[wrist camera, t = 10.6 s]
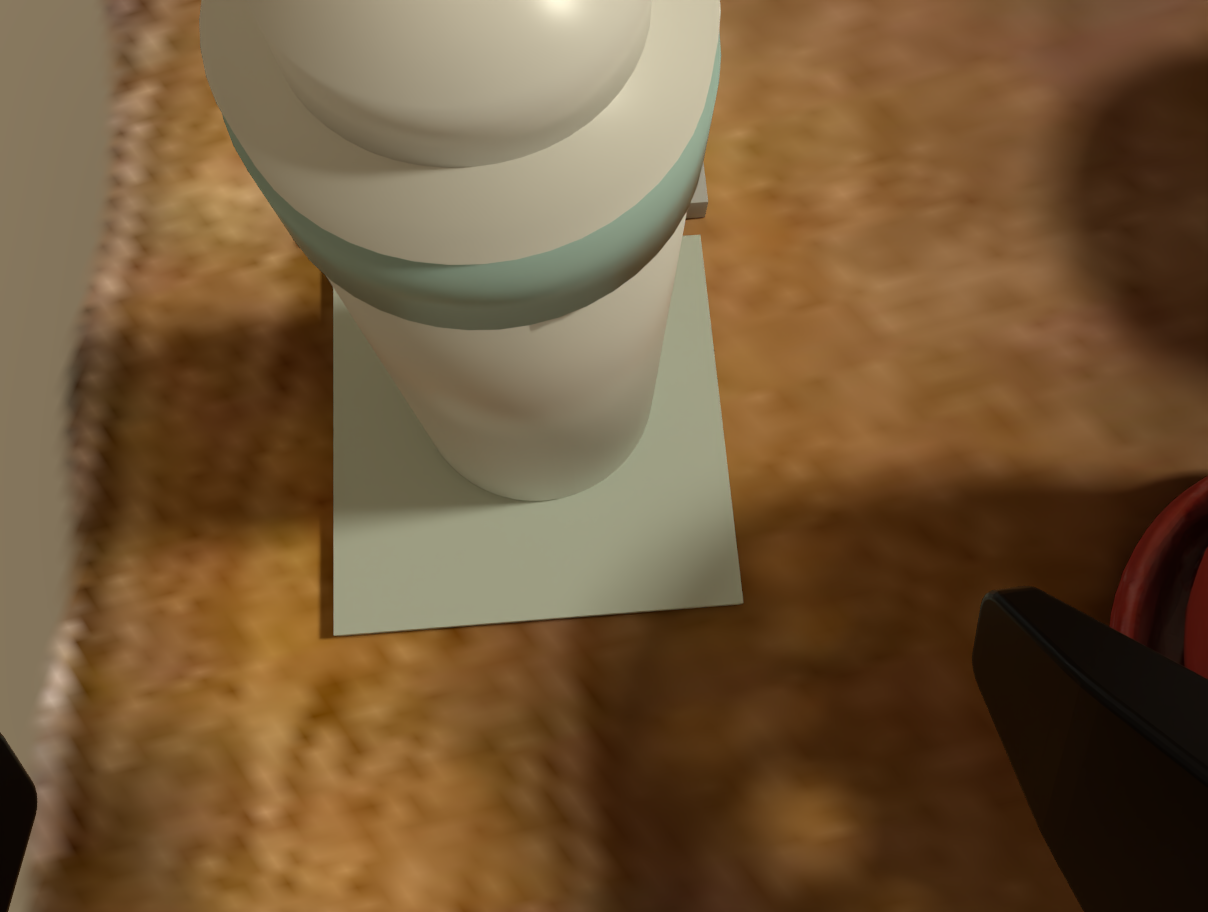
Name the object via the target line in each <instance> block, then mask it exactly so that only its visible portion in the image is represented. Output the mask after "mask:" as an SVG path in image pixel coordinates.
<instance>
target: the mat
mask: <svg viewBox="0 0 1208 912" xmlns="http://www.w3.org/2000/svg"><path fill="white" fill-rule="evenodd" d="M333 546H334V636H349V635H362V634H374V633H387V632H399V631H412V630H425V629H437V628H450V627H462V626H475V625H488V624H500V623H513V622H526V621H538V620H551V619H563V618H576V617H589V616H601V615H614V614H626V613H639V612H652V611H664V610H677V609H689V608H702V607H715V606H727V605H740V604H743V594H742V586H741V577H740V569H739V560H738V552H737V543H736V535H735V526H734V518H733V509H732V501H731V492H730V484H729V475H728V466H727V458H726V449H725V441H724V432H723V424H722V415H721V407H720V398H719V390H718V381H717V373H716V364H715V356H714V347H713V339H712V330H711V322H710V313H709V305H708V296H707V288H706V279H705V271H704V262H703V254H702V245H701V236H700V235H690V236H682V241H681V247H680V252H679V258H678V263H677V269H676V274H675V279H674V285H673V290H672V296H671V301H670V307H669V312H668V318H667V323H666V329H665V334H664V340H663V345H662V351H661V356H660V362H659V367H658V373H657V378H656V384H655V389H654V395H653V400H652V406H651V410H650V414H649V418H648V422H647V425H646V427H645V430H644V432H643V435H642V437H641V438H640V440H639V442H638V444H637V446H636V447H635V449H634V450H633V451H632V453H631V454H630V455H629V457H628V458H627V459H626V461H625V462H624V463H623V464H622V465H621V466H620V467H619V468H618V469H617V470H616V471H614V472H613V473H612V474H611V475H609V476H608V477H607V478H605V479H604V480H603V481H601V482H599V483H598V484H596V485H594V486H592V487H591V488H589V489H586V490H584V491H582V492H579V493H577V494H574V495H570V496H567V497H563V498H559V499H552V500H545V501H527V500H517V499H511V498H507V497H503V496H499V495H496V494H494V493H491V492H489V491H486V490H484V489H482V488H480V487H478V486H476V485H475V484H473V483H471V482H470V481H468V480H467V479H466V478H464V477H463V476H461V475H460V474H459V473H458V472H457V471H456V470H455V469H454V468H453V467H452V466H451V465H450V464H449V463H448V462H447V461H446V460H445V458H444V457H443V456H442V455H441V453H440V452H439V450H438V449H437V447H436V446H435V444H434V443H433V441H432V440H431V438H430V437H429V435H428V433H427V432H426V430H425V429H424V427H423V426H422V424H421V423H420V421H419V419H418V418H417V416H416V415H415V413H414V412H413V410H412V409H411V407H410V406H409V404H408V402H407V401H406V399H405V398H404V396H403V395H402V393H401V392H400V390H399V388H398V387H397V385H396V384H395V382H394V381H393V379H392V378H391V376H390V375H389V373H388V371H387V370H386V368H385V367H384V365H383V364H382V362H381V361H380V359H379V357H378V356H377V354H376V353H375V351H374V350H373V348H372V347H371V345H370V343H369V342H368V340H367V339H366V337H365V336H364V334H363V333H362V331H361V330H360V328H359V326H358V325H357V323H356V322H355V320H354V319H353V317H352V316H351V314H350V312H349V311H348V309H347V308H346V306H345V305H344V303H343V302H342V300H341V299H340V297H339V295H338V294H337V292H336V291H335V289H334V288H333Z"/></svg>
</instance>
